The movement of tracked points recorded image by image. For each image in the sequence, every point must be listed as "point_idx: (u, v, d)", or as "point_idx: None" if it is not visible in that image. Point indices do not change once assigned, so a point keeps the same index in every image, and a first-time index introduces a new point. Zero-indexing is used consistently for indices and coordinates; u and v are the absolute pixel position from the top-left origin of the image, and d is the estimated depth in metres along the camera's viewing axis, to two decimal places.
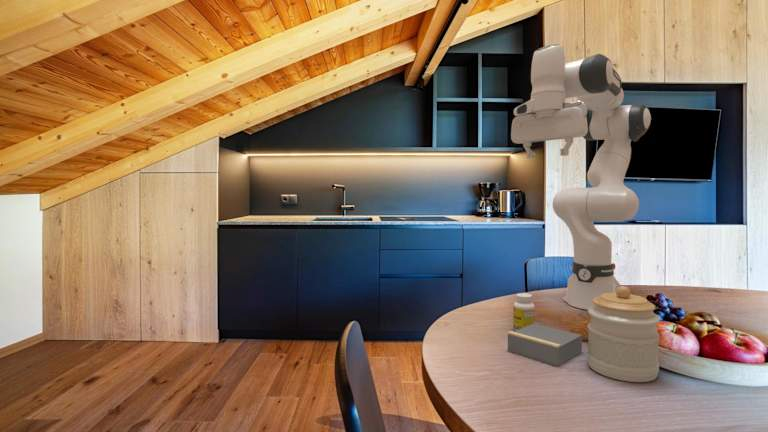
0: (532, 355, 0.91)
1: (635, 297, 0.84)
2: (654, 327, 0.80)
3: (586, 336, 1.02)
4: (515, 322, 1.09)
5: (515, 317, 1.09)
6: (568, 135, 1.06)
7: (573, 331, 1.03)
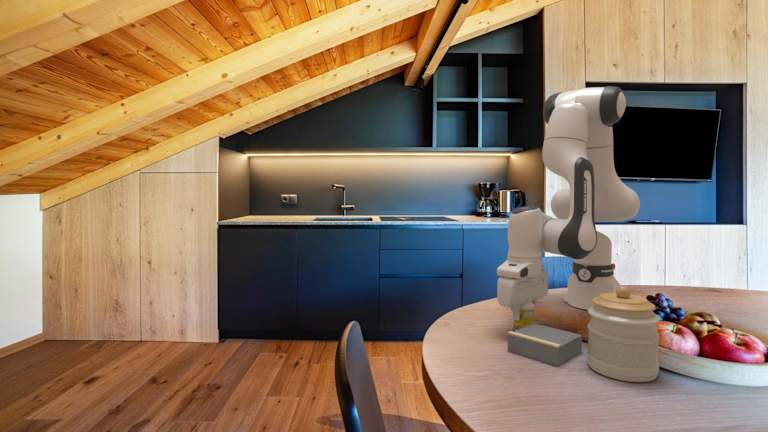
0: (532, 355, 0.91)
1: (635, 297, 0.84)
2: (654, 327, 0.80)
3: None
4: (515, 322, 1.09)
5: None
6: (541, 296, 1.13)
7: (579, 332, 1.03)
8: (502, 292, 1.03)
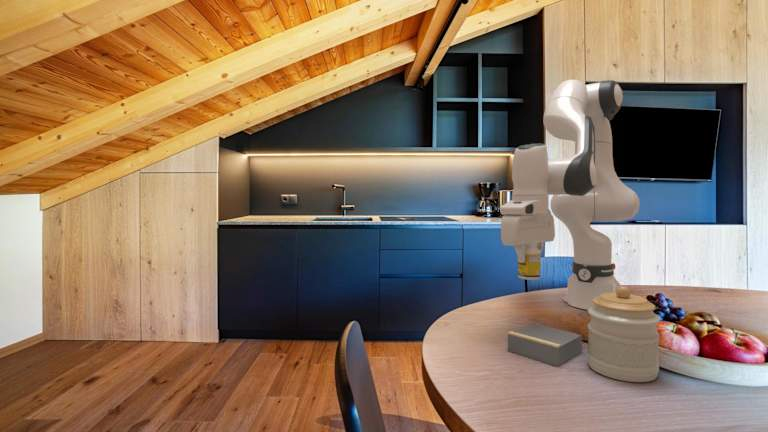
0: (532, 355, 0.91)
1: (635, 297, 0.84)
2: (654, 327, 0.80)
3: None
4: (520, 269, 1.03)
5: (520, 263, 1.03)
6: (548, 240, 1.07)
7: (582, 333, 1.02)
8: (506, 230, 0.98)
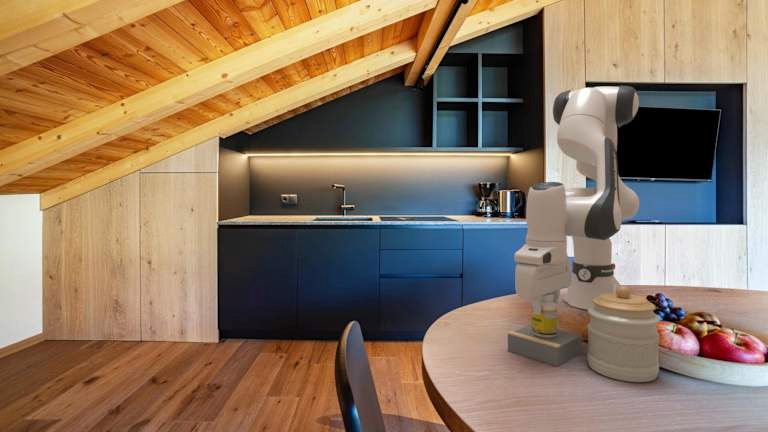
0: (532, 355, 0.91)
1: (635, 297, 0.84)
2: (654, 327, 0.80)
3: None
4: (534, 325, 0.94)
5: (534, 319, 0.94)
6: (565, 287, 0.97)
7: (585, 333, 1.02)
8: (522, 281, 0.88)
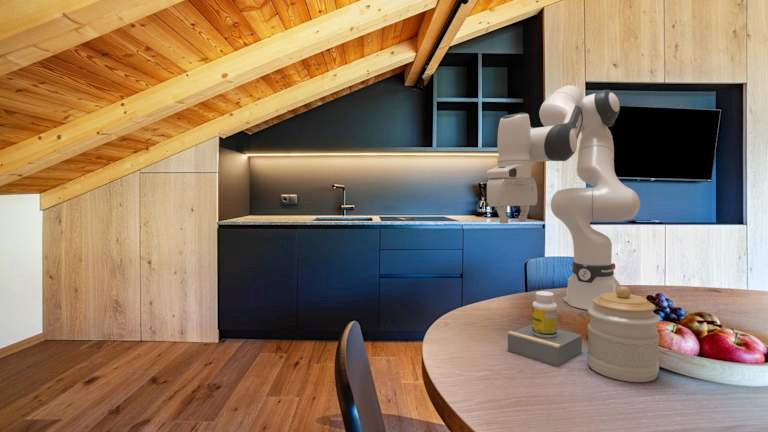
0: (532, 355, 0.91)
1: (635, 297, 0.84)
2: (654, 327, 0.80)
3: None
4: (534, 325, 0.94)
5: (534, 319, 0.94)
6: (531, 204, 1.15)
7: None
8: (492, 192, 1.06)
